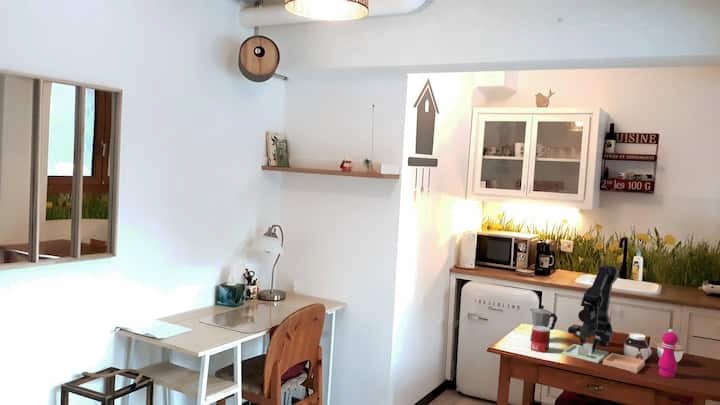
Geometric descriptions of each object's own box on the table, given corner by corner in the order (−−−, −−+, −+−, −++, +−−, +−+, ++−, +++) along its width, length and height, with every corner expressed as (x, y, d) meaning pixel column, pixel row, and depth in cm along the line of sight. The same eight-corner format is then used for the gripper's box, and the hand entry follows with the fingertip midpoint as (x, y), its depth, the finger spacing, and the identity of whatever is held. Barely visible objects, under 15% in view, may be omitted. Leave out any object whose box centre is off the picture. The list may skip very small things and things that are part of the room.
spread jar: (623, 360, 272) (625, 335, 271) (622, 353, 283) (624, 329, 282) (652, 365, 268) (655, 339, 267) (649, 357, 279) (652, 333, 278)
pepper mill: (653, 371, 259) (658, 326, 258) (669, 371, 260) (673, 326, 258) (663, 377, 252) (668, 331, 251) (679, 378, 253) (684, 331, 251)
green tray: (573, 347, 287) (574, 344, 287) (608, 355, 278) (608, 352, 277) (562, 355, 275) (562, 351, 275) (597, 364, 265) (598, 360, 265)
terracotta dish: (611, 358, 275) (612, 352, 275) (644, 365, 266) (644, 360, 266) (602, 365, 264) (603, 359, 264) (636, 373, 255) (636, 368, 255)
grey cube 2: (578, 354, 276) (579, 345, 275) (587, 356, 274) (588, 347, 274) (577, 356, 272) (578, 348, 272) (586, 358, 270) (587, 349, 270)
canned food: (549, 354, 275) (551, 331, 274) (531, 352, 277) (533, 329, 276) (547, 349, 282) (549, 326, 282) (529, 347, 284) (531, 324, 283)
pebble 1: (585, 350, 282) (586, 342, 282) (593, 352, 280) (594, 344, 279) (582, 352, 279) (583, 343, 279) (591, 354, 277) (592, 345, 276)
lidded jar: (679, 360, 277) (681, 340, 276) (684, 367, 267) (686, 347, 266) (654, 356, 280) (656, 337, 280) (657, 363, 270) (659, 343, 270)
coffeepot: (522, 338, 298) (525, 303, 296) (534, 336, 303) (536, 301, 302) (548, 347, 285) (551, 310, 284) (560, 344, 291) (563, 308, 290)
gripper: (565, 317, 278) (562, 350, 279) (606, 326, 266) (603, 360, 267) (573, 313, 286) (570, 344, 287) (614, 321, 275) (611, 354, 276)
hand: (588, 351), depth 279 cm, fingers closed on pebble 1, 4 cm apart
